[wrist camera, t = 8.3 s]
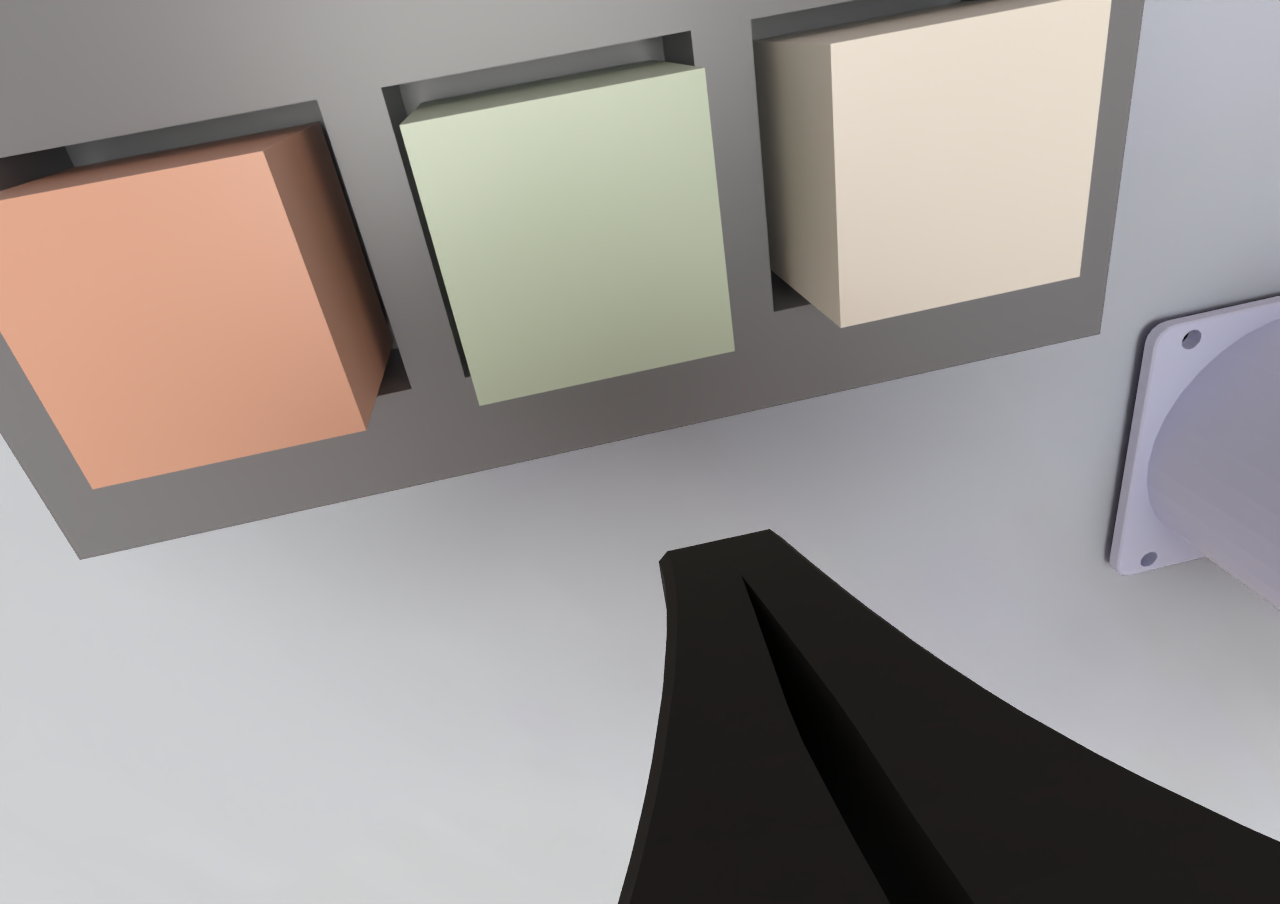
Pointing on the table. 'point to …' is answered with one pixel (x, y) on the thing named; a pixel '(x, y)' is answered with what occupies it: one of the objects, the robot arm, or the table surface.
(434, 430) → the keypad housing
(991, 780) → the robot arm
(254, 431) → the terracotta key
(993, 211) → the ivory key
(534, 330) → the sage key
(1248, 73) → the table surface
